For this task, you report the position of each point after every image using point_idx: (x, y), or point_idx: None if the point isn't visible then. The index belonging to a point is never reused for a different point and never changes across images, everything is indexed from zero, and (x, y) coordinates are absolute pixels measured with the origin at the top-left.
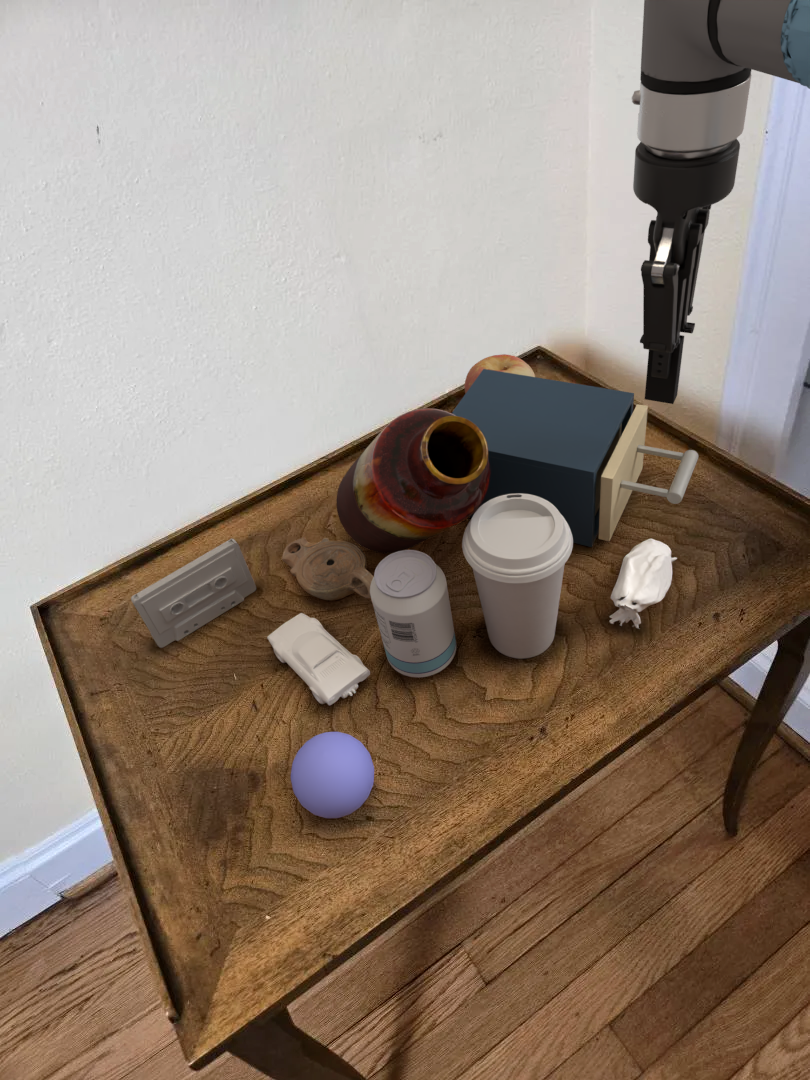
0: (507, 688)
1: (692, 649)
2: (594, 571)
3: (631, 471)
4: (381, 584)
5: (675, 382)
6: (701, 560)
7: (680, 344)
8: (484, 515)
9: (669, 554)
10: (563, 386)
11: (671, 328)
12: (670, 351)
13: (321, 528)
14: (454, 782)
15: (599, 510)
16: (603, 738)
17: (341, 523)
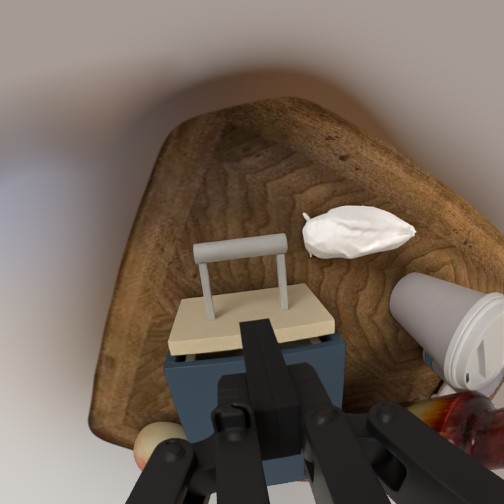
0: (448, 279)
1: (382, 167)
2: (336, 278)
3: (234, 307)
4: (491, 387)
5: (277, 342)
6: (282, 191)
7: (293, 402)
8: (480, 380)
9: (322, 219)
10: (196, 436)
11: (460, 450)
12: (397, 405)
13: None
14: (493, 270)
15: None
16: (460, 204)
17: None
